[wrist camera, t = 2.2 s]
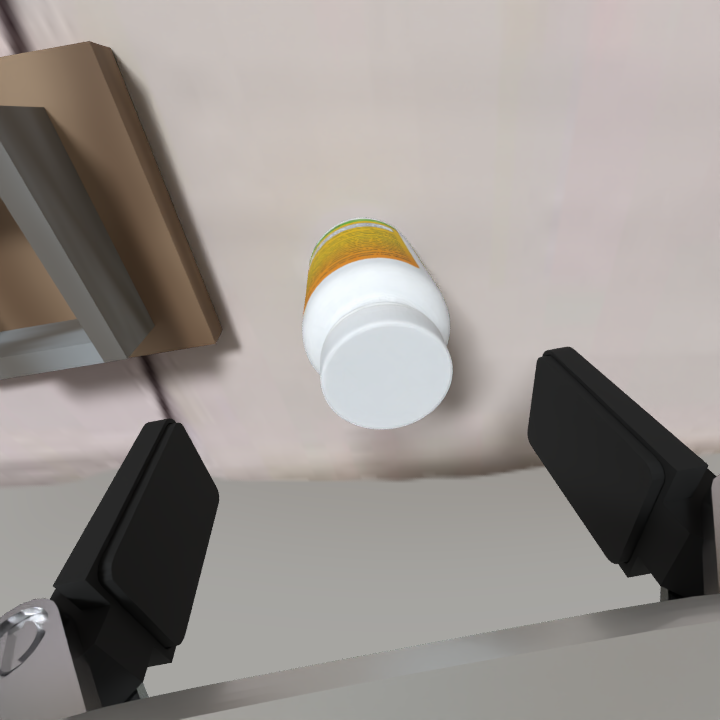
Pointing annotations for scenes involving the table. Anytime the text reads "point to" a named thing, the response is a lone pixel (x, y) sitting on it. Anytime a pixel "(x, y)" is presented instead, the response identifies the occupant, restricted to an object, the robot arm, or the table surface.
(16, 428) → the table surface
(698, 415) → the table surface
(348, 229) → the supplement bottle
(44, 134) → the collar board
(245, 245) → the table surface
